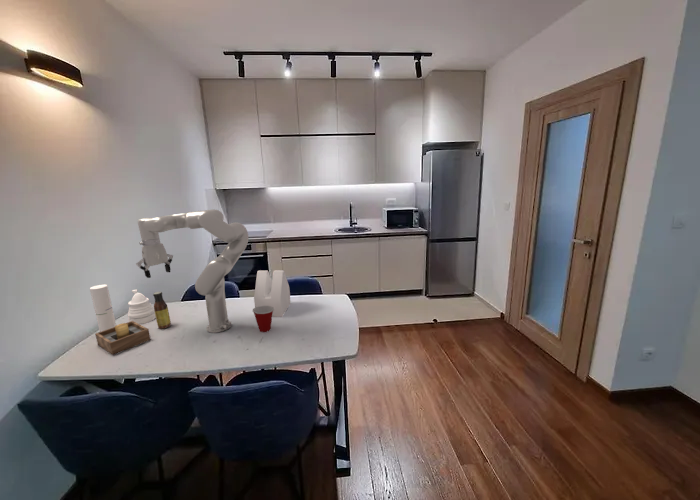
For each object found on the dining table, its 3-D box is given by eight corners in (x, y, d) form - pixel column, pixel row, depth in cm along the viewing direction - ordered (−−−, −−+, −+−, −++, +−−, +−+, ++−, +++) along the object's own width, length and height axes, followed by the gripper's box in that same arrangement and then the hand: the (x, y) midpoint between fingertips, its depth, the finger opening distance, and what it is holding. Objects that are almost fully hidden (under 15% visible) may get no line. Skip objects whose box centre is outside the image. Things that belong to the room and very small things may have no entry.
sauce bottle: (173, 324, 166) (168, 291, 162) (163, 330, 161) (157, 295, 156) (165, 323, 169) (159, 290, 164) (154, 328, 163) (148, 294, 158)
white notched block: (267, 303, 192) (263, 266, 186) (290, 303, 191) (287, 266, 185) (256, 317, 173) (251, 276, 168) (282, 317, 172) (278, 275, 167)
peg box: (150, 339, 151) (148, 328, 149) (112, 355, 138) (110, 343, 136) (134, 331, 161) (132, 320, 159) (97, 344, 148) (95, 333, 146)
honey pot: (124, 322, 171) (117, 293, 167) (146, 313, 183) (140, 285, 179) (139, 326, 166) (132, 295, 162) (160, 316, 178) (155, 288, 174)
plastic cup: (280, 328, 158) (278, 307, 155) (261, 336, 150) (259, 314, 148) (268, 322, 165) (266, 302, 162) (250, 330, 157) (248, 309, 155)
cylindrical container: (119, 328, 164) (110, 285, 159) (104, 334, 158) (94, 289, 152) (112, 326, 167) (102, 283, 162) (97, 332, 161) (86, 288, 155)
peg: (132, 338, 150) (129, 324, 148) (121, 343, 146) (117, 329, 144) (127, 336, 152) (124, 322, 150) (116, 341, 148) (112, 326, 146)
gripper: (136, 246, 142) (144, 280, 145) (172, 239, 156) (179, 270, 160) (128, 245, 145) (136, 279, 149) (165, 238, 160) (171, 269, 163)
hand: (158, 274), depth 154 cm, fingers open, 9 cm apart
